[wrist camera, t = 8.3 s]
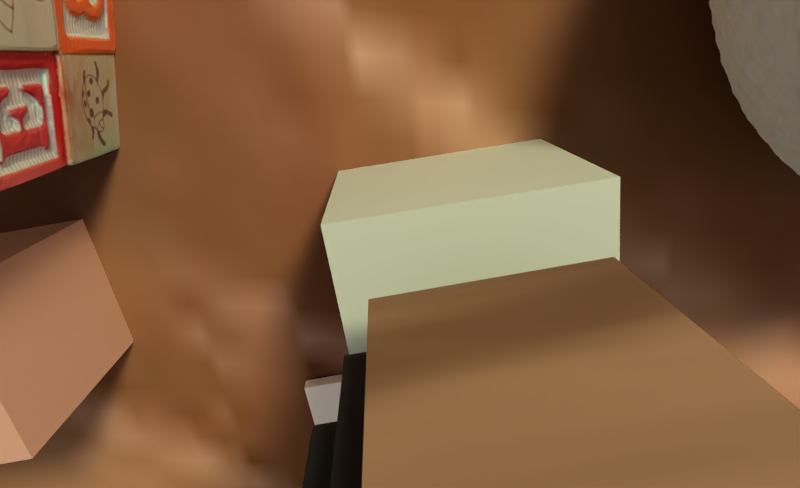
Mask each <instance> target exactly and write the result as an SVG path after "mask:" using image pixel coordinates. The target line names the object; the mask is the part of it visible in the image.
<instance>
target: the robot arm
mask: <svg viewBox="0 0 800 488" xmlns="http://www.w3.org/2000/svg"><path fill="white" fill-rule="evenodd" d="M366 353H367V352H362V353H356V354H350V355H345V356H344V363H343V372H342V381H341V390H340V399H339V408H338V417H337V421H336V422H330V423H324V424H318V425H315V426H314V427H313V431H312V435H311V441H310V447H309V452H308V458H307V464H306V470H305V475H304V481H303V487H302V488H362V466H363V438H364V409H365V381H366Z"/></svg>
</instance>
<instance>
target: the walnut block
mask: <svg viewBox="0 0 800 488" xmlns="http://www.w3.org/2000/svg"><path fill="white" fill-rule="evenodd" d="M362 488H800V409H799V408H798V407H796V406H795V405H794V404H793V403H792V402H790V401H789V400H788V399H787V398H785V397H784V396H783V395H782V394H781V393H779V392H778V391H777V390H776V389H774V388H773V387H772V386H771V385H770V384H768V383H767V382H766V381H765V380H764V379H762V378H761V377H760V376H759V375H757V374H756V373H755V372H754V371H753V370H751V369H750V368H749V367H748V366H746V365H745V364H744V363H743V362H742V361H740V360H739V359H738V358H737V357H735V356H734V355H733V354H732V353H731V352H729V351H728V350H727V349H726V348H725V347H723V346H722V345H721V344H720V343H718V342H717V341H716V340H715V339H714V338H712V337H711V336H710V335H709V334H707V333H706V332H705V331H704V330H703V329H701V328H700V327H699V326H698V325H696V324H695V323H694V322H693V321H692V320H690V319H689V318H688V317H687V316H686V315H684V314H683V313H682V312H681V311H679V310H678V309H677V308H676V307H675V306H673V305H672V304H671V303H670V302H668V301H667V300H666V299H665V298H664V297H662V296H661V295H660V294H659V293H657V292H656V291H655V290H654V289H653V288H651V287H650V286H649V285H648V284H647V283H645V282H644V281H643V280H642V279H640V278H639V277H638V276H637V275H636V274H634V273H633V272H632V271H631V270H629V269H628V268H627V267H626V266H625V265H623V264H622V263H621V262H620V261H618V260H617V259H616V258H615V257H610V258H604V259H598V260H593V261H587V262H581V263H575V264H569V265H564V266H558V267H552V268H546V269H541V270H535V271H529V272H523V273H517V274H512V275H506V276H500V277H494V278H488V279H483V280H477V281H471V282H465V283H459V284H454V285H448V286H442V287H436V288H431V289H425V290H419V291H413V292H407V293H402V294H396V295H390V296H384V297H378V298H373V299H368V325H367V353H366V381H365V409H364V438H363V466H362Z"/></svg>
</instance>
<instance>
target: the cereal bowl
mask: <svg viewBox="0 0 800 488" xmlns="http://www.w3.org/2000/svg"><path fill="white" fill-rule="evenodd" d="M709 6H710V9H711V12H712V25H713V27H714V30H715V32H716V35H715V41H716V44H717V46H718V49H719V51H720V59H721V64H722V66H723V67H724V69H725V72H726V74H727V76H728V80H729V82H730V84H731V88H732V93H733V94H734V96H735V97H736V98H737V100H738V101H739V103H740V106H741V109H742V111H743V113H744V114H745V115H746V118H747V120H748V121H749V122H750V123H751V124H752V125H753V126H754V128H755V129H756V130H757V132H758V134H759V136H760V137H761V138H762V139H763V140H764V141H765V142H766V143H768V144H769V146H770V147H771V149H772V150H773V152H774V153H775V154H776V155H777V156H778V157H779V158H780V159H781V161H782V162H784V163H785V164H787V165H788V166H789V167H791V168H792V169H793V170H794V171H795V172H796V173H797V174H798V175H799V176H800V0H709Z"/></svg>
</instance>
